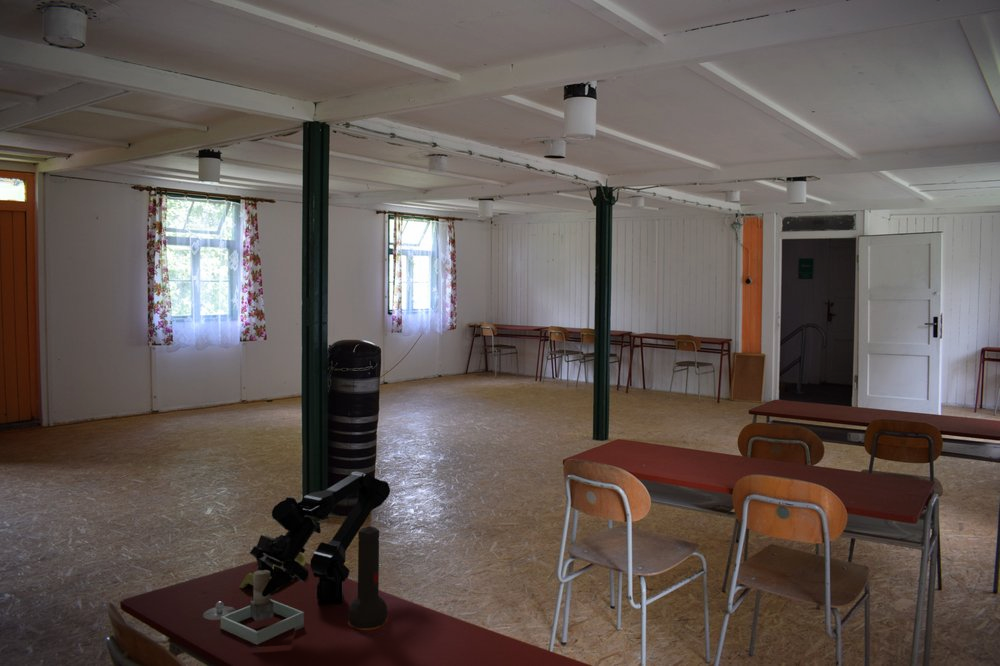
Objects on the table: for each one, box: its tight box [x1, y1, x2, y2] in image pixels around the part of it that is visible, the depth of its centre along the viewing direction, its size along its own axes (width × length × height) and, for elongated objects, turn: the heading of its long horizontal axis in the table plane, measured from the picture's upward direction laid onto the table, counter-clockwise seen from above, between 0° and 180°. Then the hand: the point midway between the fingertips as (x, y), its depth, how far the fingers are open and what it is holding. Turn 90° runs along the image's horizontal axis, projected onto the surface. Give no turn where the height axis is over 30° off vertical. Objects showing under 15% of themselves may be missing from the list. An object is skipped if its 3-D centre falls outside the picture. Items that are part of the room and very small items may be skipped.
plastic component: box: [239, 552, 307, 592], centre depth 212 cm, size 20×7×10 cm
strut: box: [249, 570, 275, 622], centre depth 181 cm, size 4×4×11 cm
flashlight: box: [347, 525, 388, 630], centre depth 187 cm, size 10×25×10 cm
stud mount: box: [202, 600, 237, 621], centre depth 188 cm, size 8×8×4 cm
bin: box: [220, 598, 305, 649], centre depth 182 cm, size 14×14×4 cm
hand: (258, 593), depth 180 cm, fingers closed on strut, 4 cm apart
